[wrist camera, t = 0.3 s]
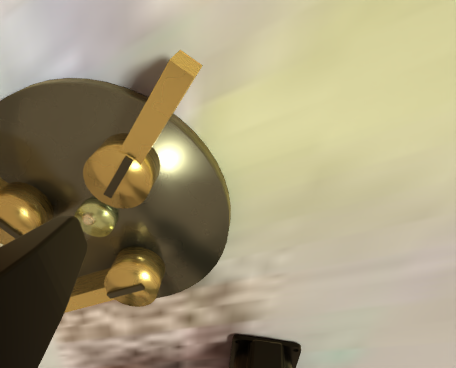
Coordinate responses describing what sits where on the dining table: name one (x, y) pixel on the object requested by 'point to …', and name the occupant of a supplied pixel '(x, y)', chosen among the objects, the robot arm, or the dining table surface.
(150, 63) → the dining table surface
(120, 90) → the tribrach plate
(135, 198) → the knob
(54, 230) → the robot arm
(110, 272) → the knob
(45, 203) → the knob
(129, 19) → the dining table surface
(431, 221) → the dining table surface
